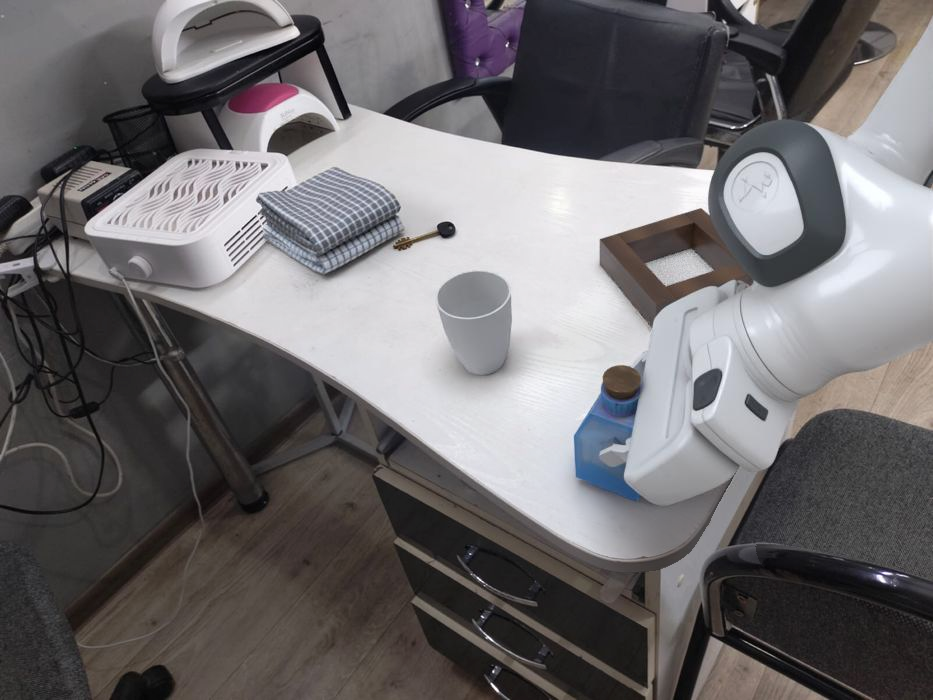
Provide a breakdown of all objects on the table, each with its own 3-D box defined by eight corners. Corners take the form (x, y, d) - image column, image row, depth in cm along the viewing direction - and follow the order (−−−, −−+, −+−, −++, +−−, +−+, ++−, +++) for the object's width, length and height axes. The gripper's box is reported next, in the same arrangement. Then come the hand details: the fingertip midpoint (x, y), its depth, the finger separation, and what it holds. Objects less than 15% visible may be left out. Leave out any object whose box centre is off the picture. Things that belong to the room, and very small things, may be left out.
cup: (528, 343, 81) (521, 276, 74) (502, 391, 76) (493, 324, 69) (466, 330, 84) (454, 265, 77) (437, 376, 79) (422, 311, 72)
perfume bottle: (662, 453, 66) (670, 365, 57) (637, 502, 62) (642, 415, 54) (602, 431, 68) (602, 344, 60) (575, 476, 65) (571, 391, 57)
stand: (698, 233, 92) (701, 207, 89) (764, 294, 81) (770, 267, 78) (599, 264, 90) (599, 238, 87) (654, 331, 79) (656, 304, 77)
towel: (327, 284, 94) (311, 237, 89) (261, 239, 105) (243, 195, 100) (410, 233, 101) (400, 186, 96) (340, 195, 112) (327, 151, 106)
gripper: (725, 249, 57) (608, 323, 67) (707, 434, 44) (563, 493, 54) (773, 295, 59) (652, 361, 69) (770, 487, 46) (620, 535, 55)
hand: (613, 420), depth 61 cm, fingers closed on perfume bottle, 7 cm apart
